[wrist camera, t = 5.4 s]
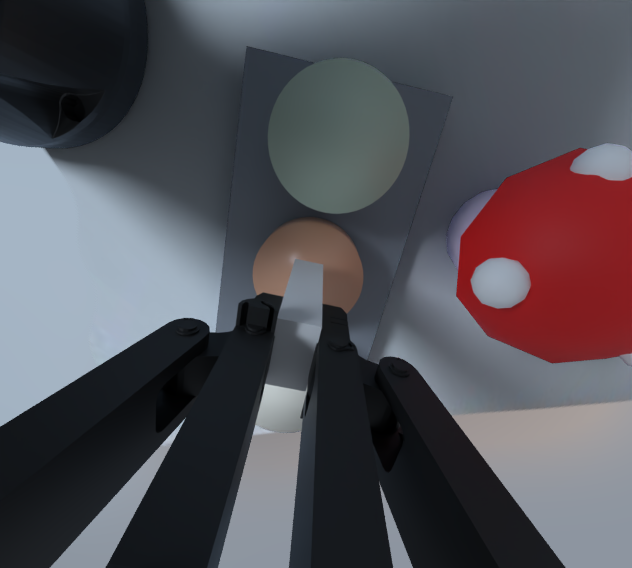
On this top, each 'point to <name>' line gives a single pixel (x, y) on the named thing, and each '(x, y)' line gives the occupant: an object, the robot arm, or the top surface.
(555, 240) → the mushroom
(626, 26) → the top surface
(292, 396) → the white flat dome
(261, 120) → the button board
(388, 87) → the sage cap
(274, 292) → the terracotta cap
